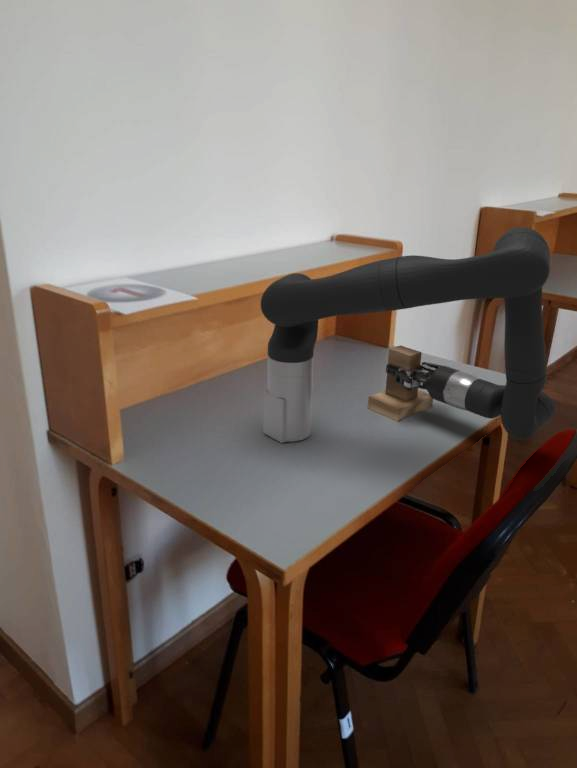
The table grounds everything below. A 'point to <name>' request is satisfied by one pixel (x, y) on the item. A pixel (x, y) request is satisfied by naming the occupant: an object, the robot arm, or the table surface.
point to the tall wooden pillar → (404, 360)
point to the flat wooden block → (398, 405)
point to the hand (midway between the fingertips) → (394, 366)
